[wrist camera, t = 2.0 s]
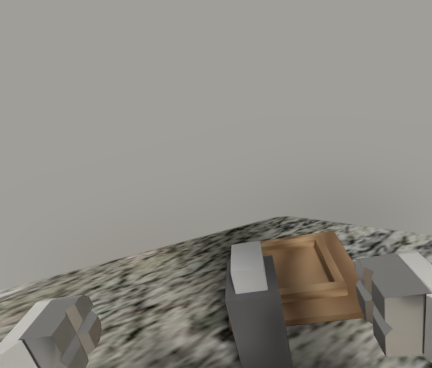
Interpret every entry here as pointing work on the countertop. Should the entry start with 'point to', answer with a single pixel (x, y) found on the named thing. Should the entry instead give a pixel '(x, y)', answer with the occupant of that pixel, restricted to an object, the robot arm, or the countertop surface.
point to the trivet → (314, 278)
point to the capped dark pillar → (256, 308)
